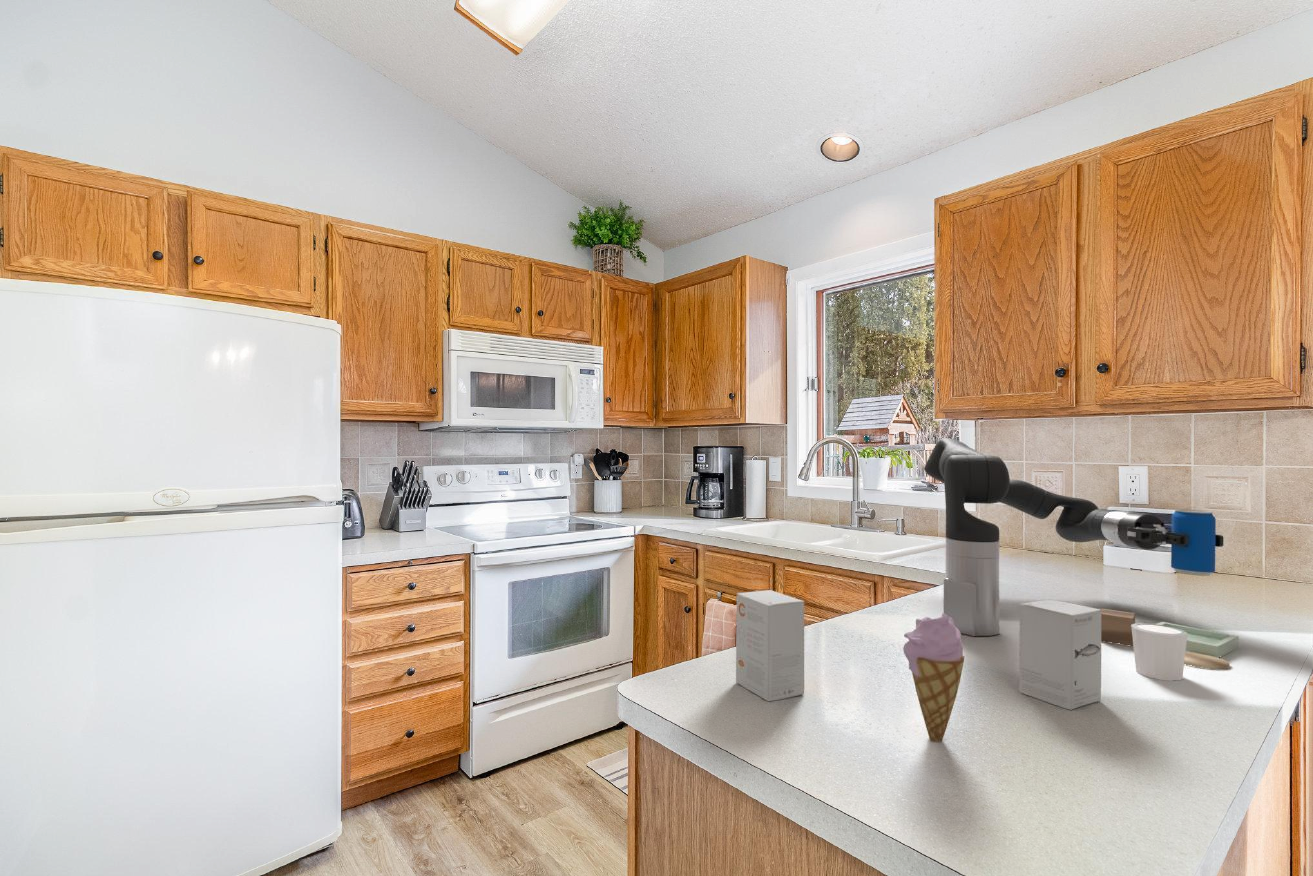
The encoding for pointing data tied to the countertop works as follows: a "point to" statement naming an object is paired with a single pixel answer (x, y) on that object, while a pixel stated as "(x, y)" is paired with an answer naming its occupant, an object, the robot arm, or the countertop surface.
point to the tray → (1207, 640)
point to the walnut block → (1117, 626)
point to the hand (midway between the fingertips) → (1203, 541)
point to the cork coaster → (1205, 661)
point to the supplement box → (1060, 653)
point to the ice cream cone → (935, 669)
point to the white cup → (1159, 651)
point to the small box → (770, 644)
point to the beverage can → (1194, 542)
